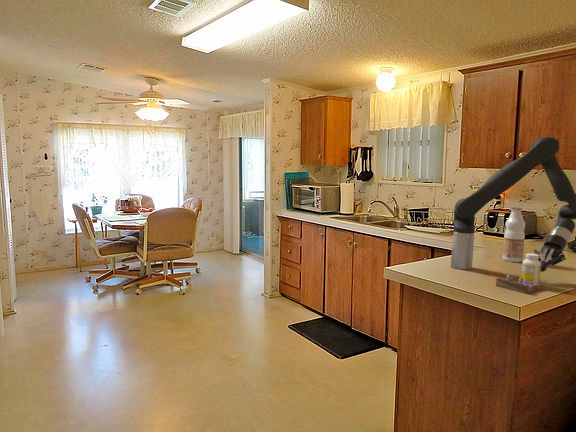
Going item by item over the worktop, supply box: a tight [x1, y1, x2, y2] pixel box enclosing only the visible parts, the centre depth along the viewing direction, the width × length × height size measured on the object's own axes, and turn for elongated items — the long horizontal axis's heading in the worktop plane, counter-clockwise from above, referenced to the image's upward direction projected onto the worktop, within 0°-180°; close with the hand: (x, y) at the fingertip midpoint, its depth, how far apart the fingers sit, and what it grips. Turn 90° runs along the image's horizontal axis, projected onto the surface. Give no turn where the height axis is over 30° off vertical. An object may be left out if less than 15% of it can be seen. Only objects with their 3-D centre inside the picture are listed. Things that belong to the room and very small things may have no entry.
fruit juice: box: [502, 206, 526, 263], centre depth 218 cm, size 9×9×28 cm
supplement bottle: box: [520, 253, 541, 286], centre depth 173 cm, size 7×7×13 cm
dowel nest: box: [495, 274, 543, 294], centre depth 169 cm, size 12×12×5 cm
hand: (540, 270), depth 177 cm, fingers closed
